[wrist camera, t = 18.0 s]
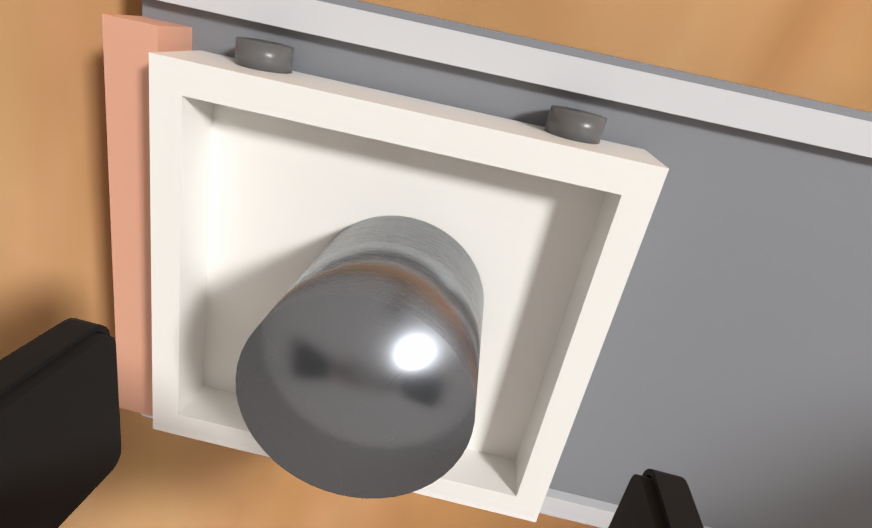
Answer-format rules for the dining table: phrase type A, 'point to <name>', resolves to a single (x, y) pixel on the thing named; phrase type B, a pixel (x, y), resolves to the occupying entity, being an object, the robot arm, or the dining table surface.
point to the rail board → (654, 264)
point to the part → (369, 362)
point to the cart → (381, 196)
